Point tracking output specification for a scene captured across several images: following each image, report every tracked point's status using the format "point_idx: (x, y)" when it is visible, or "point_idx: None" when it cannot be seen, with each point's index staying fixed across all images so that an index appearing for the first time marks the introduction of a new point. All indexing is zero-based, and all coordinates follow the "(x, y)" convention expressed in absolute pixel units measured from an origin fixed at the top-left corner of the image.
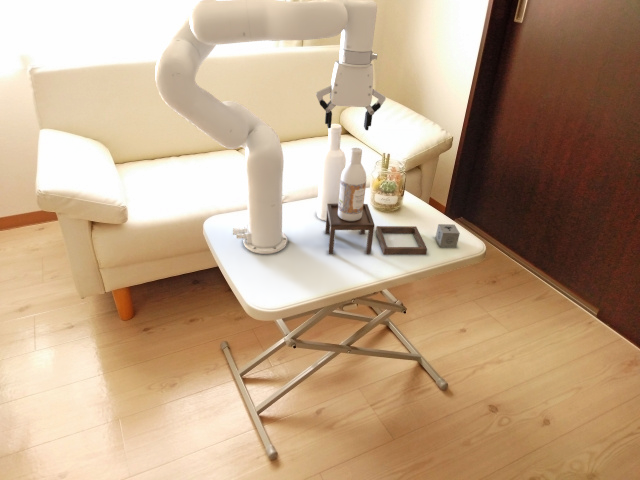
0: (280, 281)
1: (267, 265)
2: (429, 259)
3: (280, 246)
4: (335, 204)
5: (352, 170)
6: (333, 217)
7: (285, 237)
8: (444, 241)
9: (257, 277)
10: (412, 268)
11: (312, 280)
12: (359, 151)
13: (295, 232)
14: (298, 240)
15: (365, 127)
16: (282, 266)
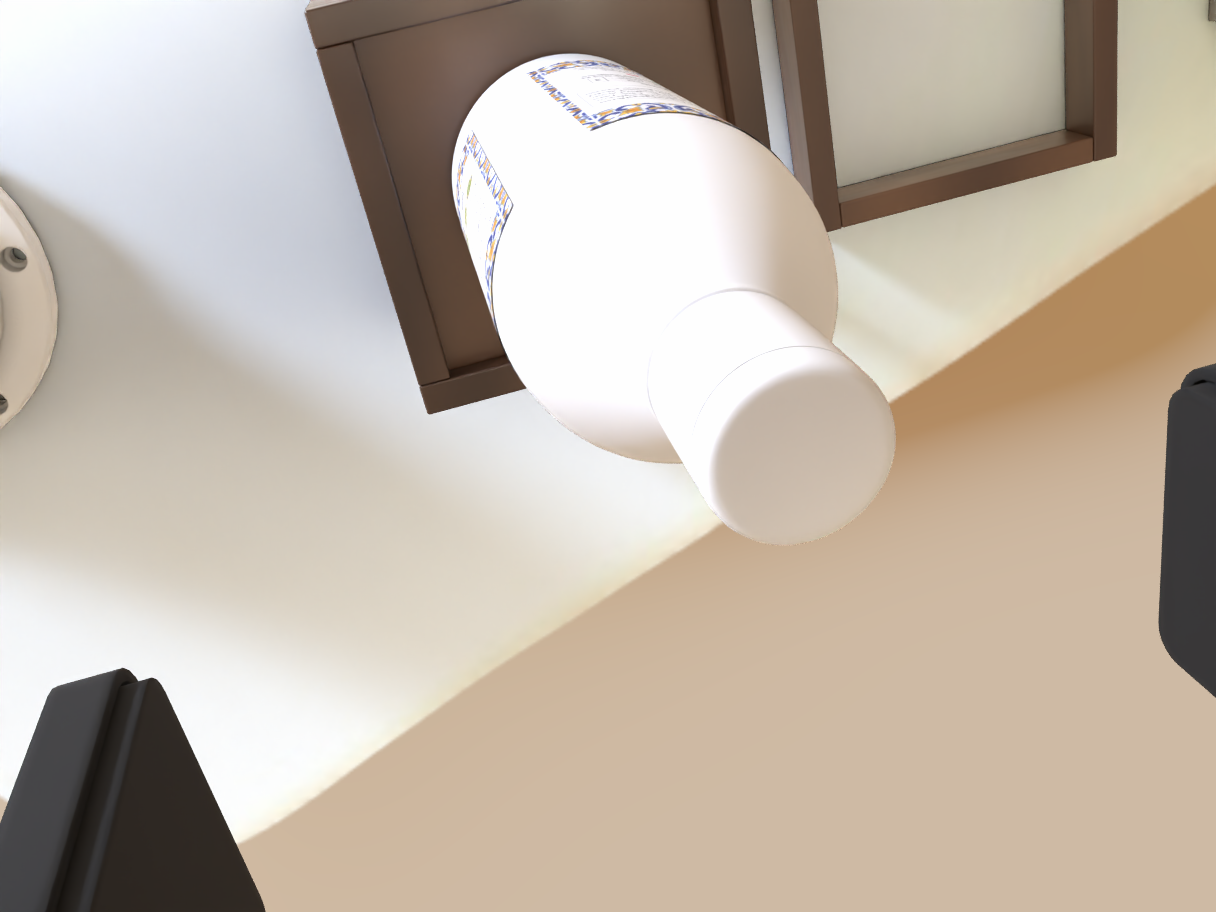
0: (181, 666)
1: (28, 552)
2: (1095, 200)
3: (29, 373)
4: (399, 14)
5: (677, 457)
6: (419, 241)
7: (12, 237)
8: None
9: (24, 674)
10: (966, 331)
11: (369, 605)
12: (850, 521)
13: (52, 65)
14: (126, 190)
15: (1195, 647)
16: (134, 534)
